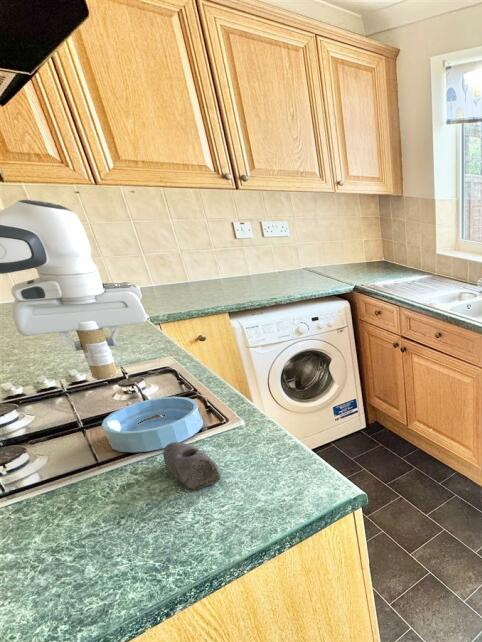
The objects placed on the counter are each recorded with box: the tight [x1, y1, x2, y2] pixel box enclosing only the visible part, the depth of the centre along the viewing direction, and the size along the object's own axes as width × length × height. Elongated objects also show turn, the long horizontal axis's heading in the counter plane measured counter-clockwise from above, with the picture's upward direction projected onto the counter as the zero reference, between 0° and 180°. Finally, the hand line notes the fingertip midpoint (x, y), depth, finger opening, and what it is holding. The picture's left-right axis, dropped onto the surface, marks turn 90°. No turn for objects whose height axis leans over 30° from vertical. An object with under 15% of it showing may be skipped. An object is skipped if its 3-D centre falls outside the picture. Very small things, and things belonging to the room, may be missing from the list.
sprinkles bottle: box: [75, 321, 119, 380], centre depth 93 cm, size 5×5×14 cm
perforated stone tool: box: [163, 442, 221, 491], centre depth 77 cm, size 15×5×7 cm, turn 56°
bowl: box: [101, 396, 204, 454], centre depth 89 cm, size 16×16×6 cm
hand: (95, 347), depth 93 cm, fingers closed on sprinkles bottle, 4 cm apart
